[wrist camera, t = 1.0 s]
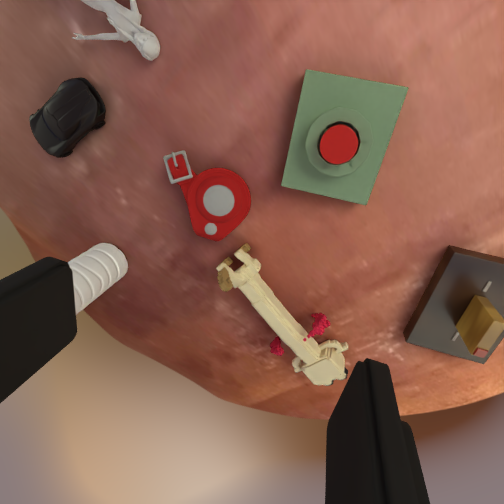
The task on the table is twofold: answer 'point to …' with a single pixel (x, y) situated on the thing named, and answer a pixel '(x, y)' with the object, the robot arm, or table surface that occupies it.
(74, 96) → the toy car
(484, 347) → the lock knob
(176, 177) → the tracker holder
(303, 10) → the table surface
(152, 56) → the woman figurine
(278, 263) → the table surface
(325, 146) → the button
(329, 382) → the blocky toy figure
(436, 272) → the lock plate
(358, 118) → the green button base
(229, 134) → the table surface
